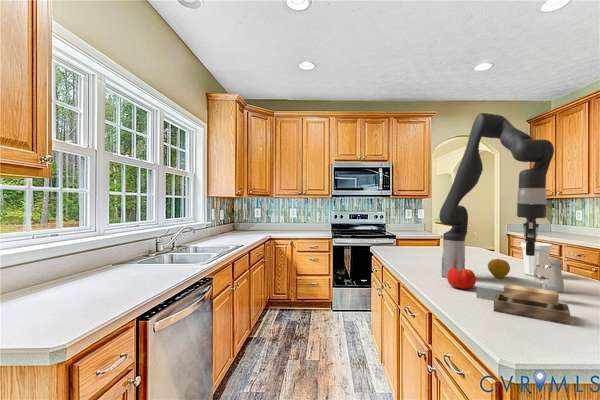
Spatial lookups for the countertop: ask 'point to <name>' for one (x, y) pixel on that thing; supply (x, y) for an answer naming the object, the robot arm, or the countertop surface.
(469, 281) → the tomato
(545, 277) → the wineglass
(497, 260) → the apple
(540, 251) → the cup
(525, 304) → the peg frame
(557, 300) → the board
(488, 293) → the stand
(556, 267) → the salt shaker
